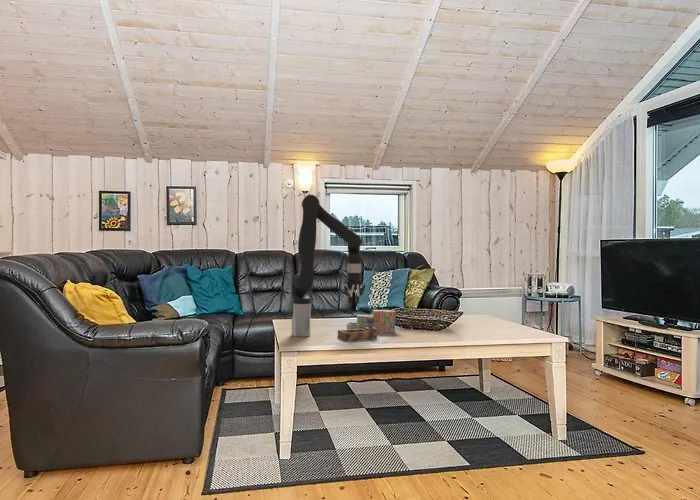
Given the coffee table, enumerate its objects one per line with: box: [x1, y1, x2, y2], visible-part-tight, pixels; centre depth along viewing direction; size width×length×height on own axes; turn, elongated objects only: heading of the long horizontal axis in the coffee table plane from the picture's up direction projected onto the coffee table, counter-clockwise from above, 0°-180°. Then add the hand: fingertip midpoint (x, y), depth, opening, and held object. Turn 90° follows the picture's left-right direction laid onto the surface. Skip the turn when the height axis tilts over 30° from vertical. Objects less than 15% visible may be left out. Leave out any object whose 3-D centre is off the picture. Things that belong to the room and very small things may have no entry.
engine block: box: [346, 321, 359, 330], centre depth 272 cm, size 5×5×7 cm
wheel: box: [367, 317, 375, 323], centre depth 265 cm, size 5×5×2 cm
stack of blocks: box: [356, 309, 396, 334], centre depth 284 cm, size 21×6×12 cm, turn 92°
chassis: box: [337, 322, 378, 342], centre depth 262 cm, size 19×10×8 cm, turn 118°
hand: (353, 303), depth 272 cm, fingers open, 3 cm apart
